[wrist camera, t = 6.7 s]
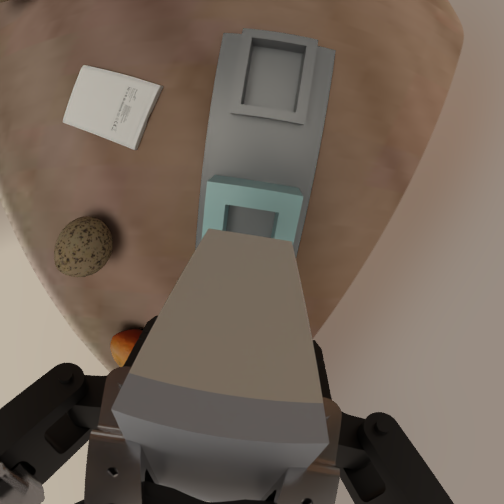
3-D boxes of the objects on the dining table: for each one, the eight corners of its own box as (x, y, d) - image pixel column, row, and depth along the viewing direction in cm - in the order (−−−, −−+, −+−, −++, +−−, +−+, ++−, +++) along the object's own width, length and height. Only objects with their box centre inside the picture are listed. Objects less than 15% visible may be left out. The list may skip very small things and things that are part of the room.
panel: (224, 35, 23) (217, 20, 18) (333, 52, 23) (345, 40, 19) (196, 263, 35) (186, 283, 30) (289, 277, 35) (292, 299, 30)
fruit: (178, 361, 41) (143, 392, 35) (150, 345, 45) (118, 371, 40) (160, 324, 38) (120, 355, 32) (133, 310, 42) (96, 336, 36)
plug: (208, 228, 13) (111, 409, 4) (291, 241, 13) (328, 443, 4) (201, 326, 15) (153, 489, 6) (269, 337, 16) (266, 506, 6)
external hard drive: (89, 66, 24) (165, 86, 26) (69, 122, 28) (139, 149, 29) (82, 64, 23) (160, 85, 25) (61, 122, 26) (133, 150, 28)
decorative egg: (74, 231, 34) (31, 262, 25) (97, 197, 32) (49, 223, 22) (106, 265, 36) (70, 304, 27) (132, 235, 34) (93, 272, 25)
